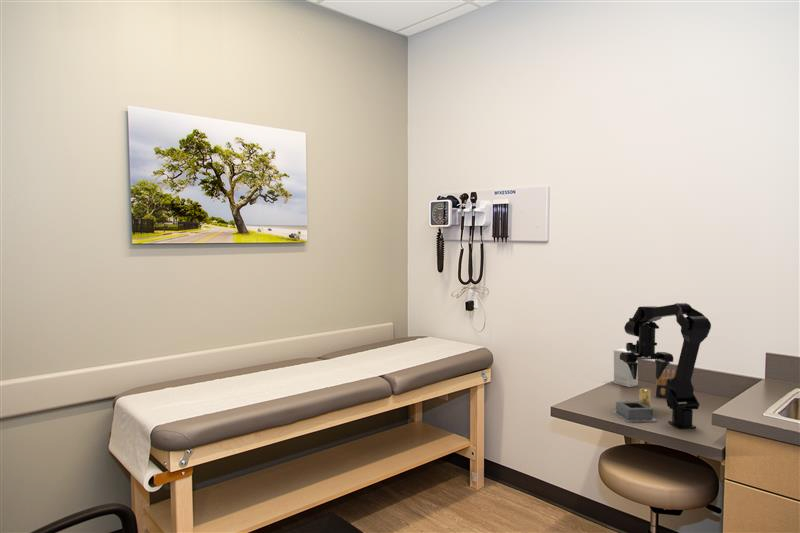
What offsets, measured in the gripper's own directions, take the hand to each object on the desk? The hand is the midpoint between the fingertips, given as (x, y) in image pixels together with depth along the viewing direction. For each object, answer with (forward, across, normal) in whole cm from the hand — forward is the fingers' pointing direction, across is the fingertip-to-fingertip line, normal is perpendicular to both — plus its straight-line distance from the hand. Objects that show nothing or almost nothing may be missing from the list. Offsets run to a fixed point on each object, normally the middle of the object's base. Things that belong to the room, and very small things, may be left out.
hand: (645, 379), depth 203 cm
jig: (+11, +10, +10) cm, 18 cm away
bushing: (+11, 0, 0) cm, 11 cm away
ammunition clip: (+11, -18, -12) cm, 24 cm away
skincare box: (+11, -10, -33) cm, 36 cm away
